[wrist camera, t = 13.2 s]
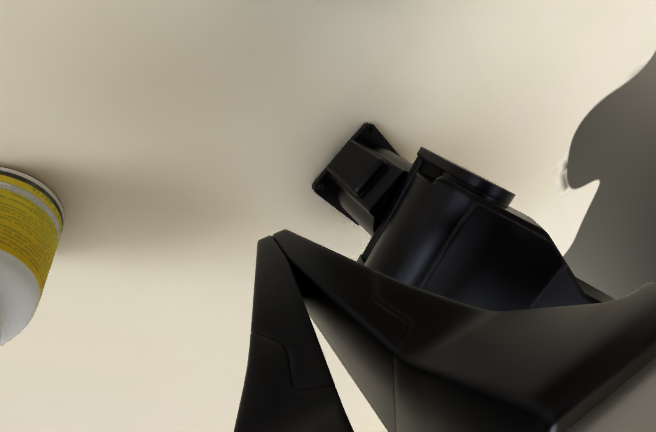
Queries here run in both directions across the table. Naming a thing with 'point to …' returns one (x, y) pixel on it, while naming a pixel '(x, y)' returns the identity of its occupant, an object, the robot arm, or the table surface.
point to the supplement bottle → (25, 247)
